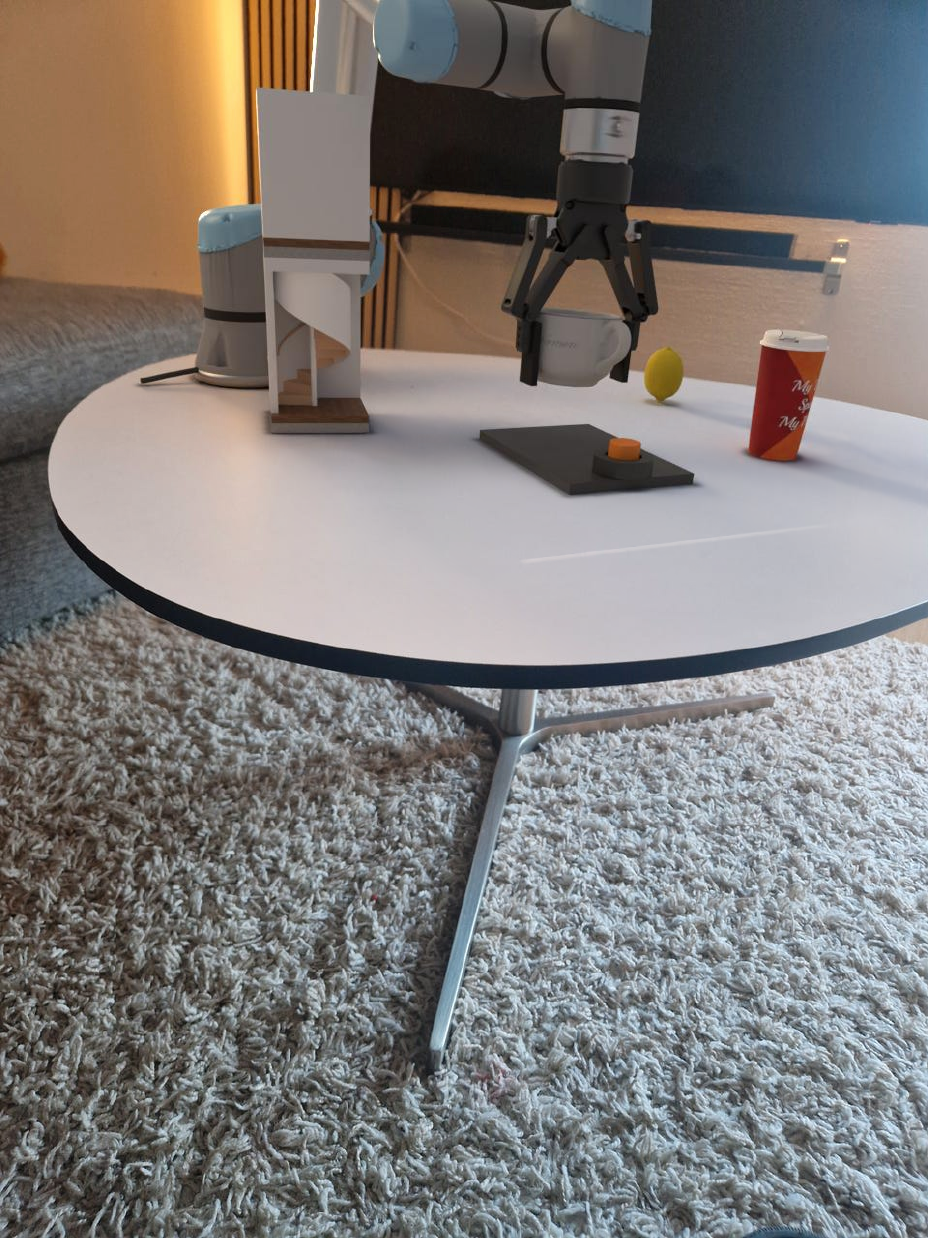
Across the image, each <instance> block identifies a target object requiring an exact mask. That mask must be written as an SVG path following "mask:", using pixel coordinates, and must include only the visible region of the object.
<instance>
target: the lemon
mask: <svg viewBox="0 0 928 1238" xmlns="http://www.w3.org/2000/svg"><path fill="white" fill-rule="evenodd" d="M683 379H684V361H683V360H682V357H681V355H680V354H679V353H678V352H676V351H675V350H674V349H672V348H671V346H668V345H667V346H665V347H663V348H662V349H659V350H656V351H655V352H654V353H653V354H652V355H651V356H650V357H649V359H648V360H647V363H646V366H645V368H644V375H643V382H644V387H645V389H646V391H647V392H648V394H649V395H650V396H652V397H654V398H655V401H656V402H658V403H663V402H664V401H665V400H666V399H668V398H671V397H673V396H674V395H675V394H676V393H677V392H678V391H679V389H680V387H681V386H682V383H683Z"/></svg>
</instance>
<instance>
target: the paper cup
mask: <svg viewBox="0 0 928 1238" xmlns="http://www.w3.org/2000/svg"><path fill="white" fill-rule="evenodd" d="M828 344H829V338H828V336H827V335H825V334H821V333H817V332H812V331H802V330H793V329H767V330H766V331H765V332H764V335H763V338H762V339H761V340H760V341H759V345H761V348H760V349H761V350H760V357H759V363H758V370H757V371H758V372H757V379H756V386H755V394H754V403H753V410H752V418H751V425H750V431H749V441H748V453H749V454H750V455H751V456H754V457H756V458H759V459H763V460H769V461H777V462H778V461H780V462H788V461H794V460H795V459H796V458H797V456H798V453H799V449H800V446H801V443H802V439H803V436H804V432H805V429H806V426H807V421H808V419H809V415H810V412H811V408H812V404H813V400H814V397H815V394H816V390H817V387H818V386H817V385H818V383H819V378H820V375H821V372H822V368H823V364H824V360H825V358H826V353H827V352H829V351H830V350H831V349H830V346H829V345H828Z"/></svg>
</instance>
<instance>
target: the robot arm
mask: <svg viewBox="0 0 928 1238" xmlns="http://www.w3.org/2000/svg"><path fill="white" fill-rule="evenodd" d="M570 4H571V5H569V6H564V7H559V8H551V9H532V8H529V7H523V6H518V5H514V4H509V3H504V2H500V1H499V2H498V1H494V0H316V6H315V22H314V34H313V35H314V37H313V50H312V64H311V77H310V90H309V91H310V92H324V93H337V94H351V95H364V96H370V136H371V135H372V134H371V133H372V124H373V114H374V107H375V106H374V105H375V96H376V95H375V94H376V87H377V86H376V85H377V78H378V69H379V68H378V67H379V63H380V65H381V66H382V68H384V70H385V71H387V73H389V74H391V75H392V76H395V77H399V78H405V79H408V80H410V81H412V82H415V83H418V84H438V85H446V86H455V87H462V88H469V89H470V88H471V89H476V90H483V91H489V92H493V93H494V94H495V95H497V96H498V97H503V98H510V99H520V100H529V99H531V98H538V97H550V96H562V95H564V102H563V113H562V114H563V115H562V123H561V124H562V125H561V135H560V136H561V137H560V144H559V153H560V154H561V156H565V157H564V161H561V162H560V164H559V165H558V171H557V183H556V194H555V197H556V208H555V211H554V213H553V215H552V216H546V215H542V214H529V215H528V216H527V217H526V221H525V236H524V237H525V238H524V241H523V243H522V247H521V249H520V251H519V255H518V258H517V260H516V263H515V265H514V269H513V272H512V274H511V277H510V280H509V283H508V285H507V288H506V291H505V293H504V297H503V299H502V301H501V305H500V311H502V313H505V314H507V315H509V316H512V317H514V318H515V320H516V333H515V350H516V352H519V353H521V357H520V371H519V383H522V384H525V385H527V386H530V387H537V386H538V368H539V356H540V344H541V332H542V323H540V322H537V321H534V320H535V319H536V317H537V316H538V314H539V313H540V311H541V309H542V308H543V307H545V305H546V303H547V301H549V298H550V296H551V295H552V294H553V293H554V291H555V289H556V288H557V286H558V284H559V283H560V281H561V279H562V278H563V276H564V274H565V273H566V272H567V270H568V268H569V267H571V266H573V264H574V262H575V261H587V260H592V261H598V262H599V264H600V265H601V266H602V267H603V270H604V272H605V274H606V277H607V280H608V282H609V284H610V287H611V289H612V291H613V295H614V296H615V299H616V301H617V305H618V307H619V309H620V312H621V313H622V317H623V321H622V322H623V323H625V324H626V325H627V326H628V328H629V330H630V333H631V346H630V349H629V351H628V353H627V355H626V356H625V357H624V358H623V359H622V360H621V361H620V362H618V363H617V364H615V365H614V366H613V368H612V370H611V372H610V373H609V375H608V376H609V378H608V379H611V380H613V381H616V382H618V383H621V384H628V383H629V375H630V368H631V367H630V366H631V359H632V352H636V351H637V348H638V346H639V339H640V338H639V337H640V330H641V323H646V321H647V320H648V317H650V316H655V315H657V314H658V313H659V302H658V294H657V288H656V287H657V286H656V280H655V279H656V278H655V272H654V266H653V258H652V251H651V238H652V237H651V236H652V229H653V223H652V221H651V220H649V219H639V218H634V219H631V220H630V219H629V218H628V215H627V207H628V205H629V202H630V201H631V192H632V185H633V184H632V183H633V176H634V168H632V167H633V166H632V165H630V164H628V163H629V162H628V161H629V160H631V159H633V158H634V157H635V154H636V146H637V145H636V144H637V138H638V137H637V136H638V129H639V121H640V113H641V104H642V103H641V100H642V94H643V93H642V92H643V85H644V77H645V70H646V63H647V57H648V49H649V42H650V37H651V35H652V28H651V24H652V7H653V0H570ZM373 211H374V210H373V208H372V207H371V206H370V275H367V274H360V298H362V297H365V296H366V295H367V294H368V293H370V292H371V291H372V290H373V289H374V287H375V286H376V285H377V283H378V281H379V280H380V277H381V275H382V272H383V267H384V263H385V255H386V253H385V252H386V249H385V248H386V247H385V243H384V241H383V242H382V240H383V237H384V236H383V233H382V230H381V227H380V226H379V225H378V223H377V222H376V221H375V220H373V215H374V212H373ZM197 230H198V231H197V246H196V248H197V251H198V258H199V270H200V271H199V272H200V283H201V297H202V307H203V328H202V331H201V336H200V339H199V343H198V348H197V352H196V356H195V360H194V367H188V368H183V369H178V370H173V371H169V372H164V373H158V374H154V375H150V376H145V377H140V384H141V385H145V384H150V383H153V382H154V383H155V382H158V381H162V380H169V379H172V378H178V377H183V376H187V375H192V374H194V377H195V379H196V380H198V381H199V382H203V383H204V384H208V385H213V386H214V385H215V386H220V387H221V386H222V387H231V388H269V372H268V349H267V327H266V305H265V282H264V260H263V238H262V215H261V203H252V204H248V203H247V204H246V203H245V204H235V205H225V206H219V207H214V208H211V209H207V210H206V211H204V212H203V213H201V215H200V216H199V218H198V221H197ZM552 231H553V232H554V235H555V237H556V239H557V241H556V242H555V244H554V245H553V247H552V248H551V250H550V251H549V253H548V259H547V261H546V262H545V264H544V266H543V267H542V269H541V270H540V272H539V273H538V275H537V277H536V279H534V278H535V275H536V273H537V270H538V267H539V264H540V261H541V258H542V257H543V253H544V250H545V247H546V243H547V239H549V237H550V236H551V235H552ZM623 237H625V239H626V241H627V250H628V256H629V264H630V270H631V276H632V279H631V276H630V273H629V271H628V268H627V265H626V263H625V261H626V257H625V254H624V252H623V250H622V247H621V245H620V242H621V240H622V239H623ZM533 280H534V281H533ZM618 343H619V342H618Z"/></svg>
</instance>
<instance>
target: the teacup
mask: <svg viewBox="0 0 928 1238" xmlns="http://www.w3.org/2000/svg"><path fill="white" fill-rule="evenodd" d="M623 320H624V316H623V315H619V314H614V313H610V312H602V311H595V310H586V309H585V310H584V309H578V308H566V307H565V308H564V307H553V306H552V307H551V306H543V308H542V309H541V311H540V313H539V314H538V316H537V317H536V319H535V320H534V321H537V322H540V323H542V332H541V344H540V356H539V368H538V380H537V382H540V383H544V384H547V385H553V386H559V387H568V388H569V387H570V388H590V387H594V386H596V385H598V383H599V382H600V381H602V380H604V379H605V378H606V377H608V376H609V375H610V372H611V370H612V368H613V366H614V365H615V364H617V363H618V362H620V361H621V360H622V359H623V358H624V357H625V356H626V355H627V353H628V351H629V349H630V346H631V333H630V330H629V328H628V326H627V325H626V324H625V323H623V322H622V321H623ZM618 342H619V343H618Z"/></svg>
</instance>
